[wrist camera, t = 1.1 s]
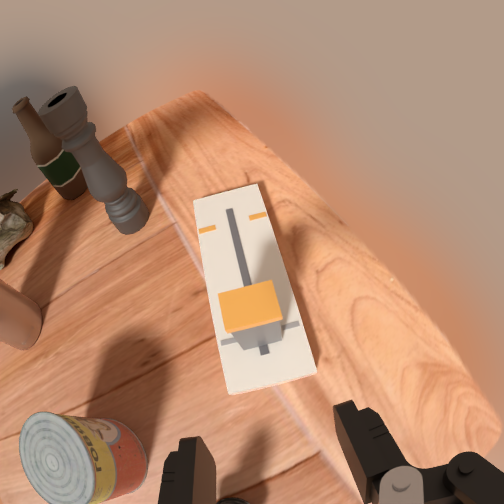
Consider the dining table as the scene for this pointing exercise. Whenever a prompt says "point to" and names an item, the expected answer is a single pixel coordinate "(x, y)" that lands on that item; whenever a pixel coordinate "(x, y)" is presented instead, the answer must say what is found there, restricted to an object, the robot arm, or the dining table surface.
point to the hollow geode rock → (12, 224)
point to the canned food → (80, 458)
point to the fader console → (244, 274)
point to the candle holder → (94, 160)
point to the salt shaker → (232, 501)
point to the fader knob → (252, 314)
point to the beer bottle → (50, 153)
